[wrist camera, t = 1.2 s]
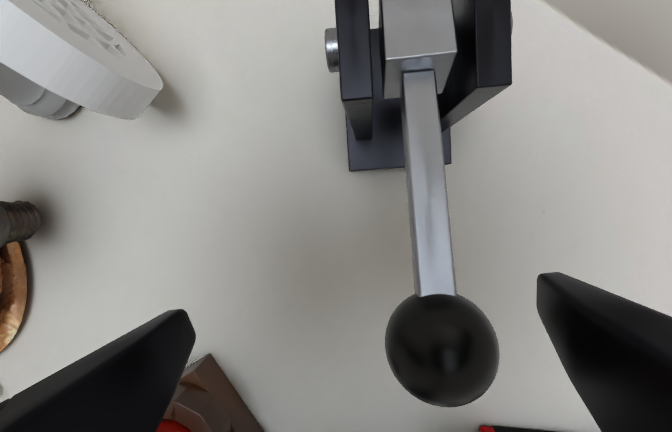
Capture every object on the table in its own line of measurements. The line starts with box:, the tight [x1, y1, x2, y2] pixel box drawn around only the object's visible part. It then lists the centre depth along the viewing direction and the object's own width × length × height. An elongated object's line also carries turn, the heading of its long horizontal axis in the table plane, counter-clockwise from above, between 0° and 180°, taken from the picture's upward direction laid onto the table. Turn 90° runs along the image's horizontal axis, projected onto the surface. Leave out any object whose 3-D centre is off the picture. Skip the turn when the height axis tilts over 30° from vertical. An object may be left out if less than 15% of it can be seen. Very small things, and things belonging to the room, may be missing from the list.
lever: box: [379, 0, 499, 407], centre depth 10 cm, size 13×3×3 cm, turn 4°
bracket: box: [325, 0, 513, 172], centre depth 15 cm, size 8×6×11 cm
